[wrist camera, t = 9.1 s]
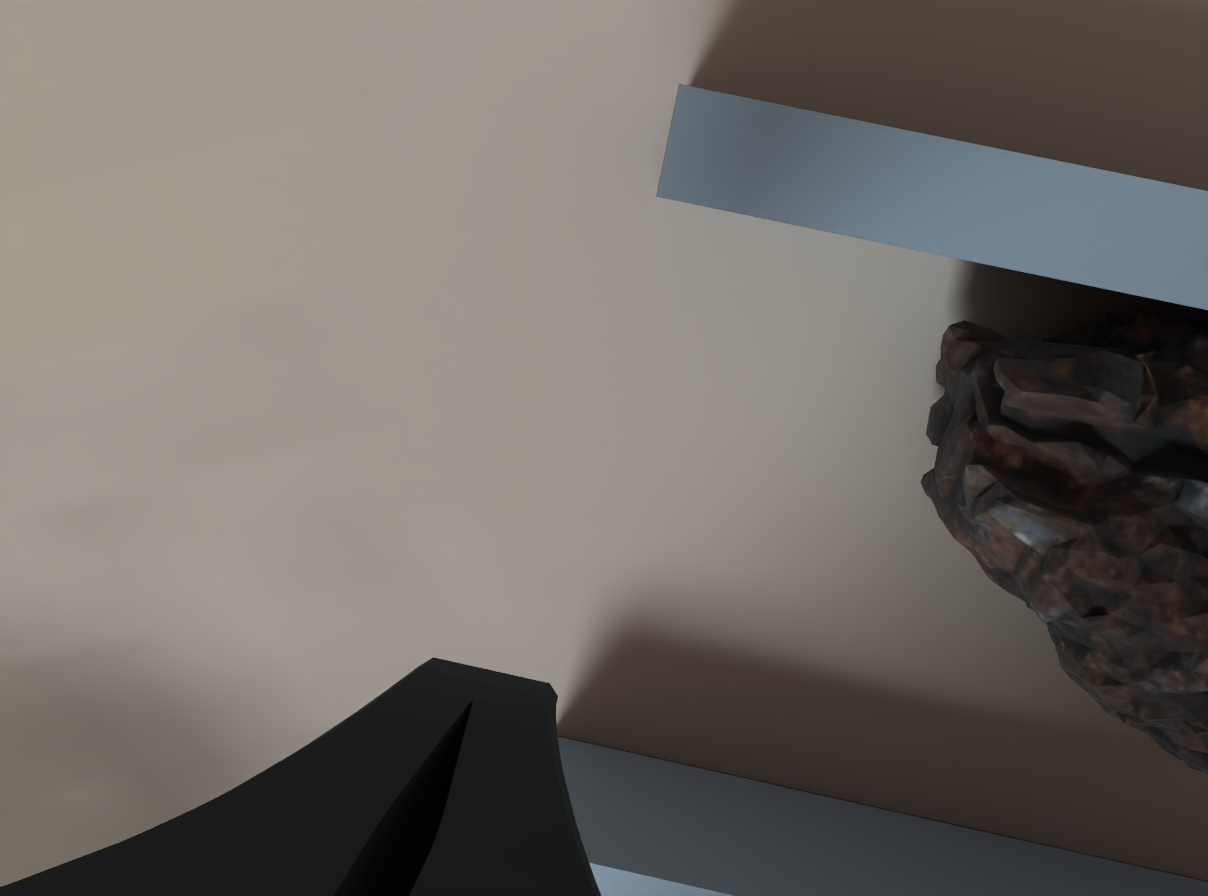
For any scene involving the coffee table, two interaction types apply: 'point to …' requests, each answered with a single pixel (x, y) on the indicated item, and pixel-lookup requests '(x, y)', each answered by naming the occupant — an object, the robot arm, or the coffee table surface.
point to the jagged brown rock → (1091, 501)
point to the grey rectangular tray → (930, 224)
